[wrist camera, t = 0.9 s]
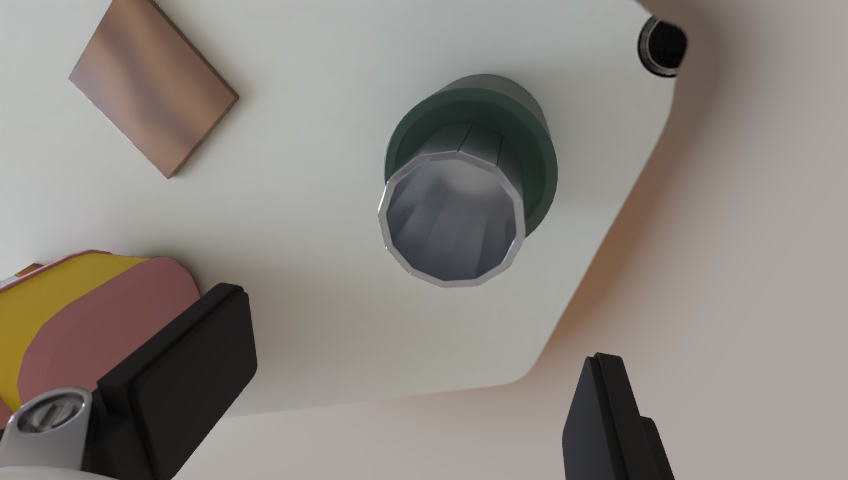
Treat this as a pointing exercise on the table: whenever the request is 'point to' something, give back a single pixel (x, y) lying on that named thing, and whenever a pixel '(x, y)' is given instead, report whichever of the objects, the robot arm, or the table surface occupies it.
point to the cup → (456, 207)
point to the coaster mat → (152, 83)
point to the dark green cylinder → (498, 110)
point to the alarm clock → (82, 320)
